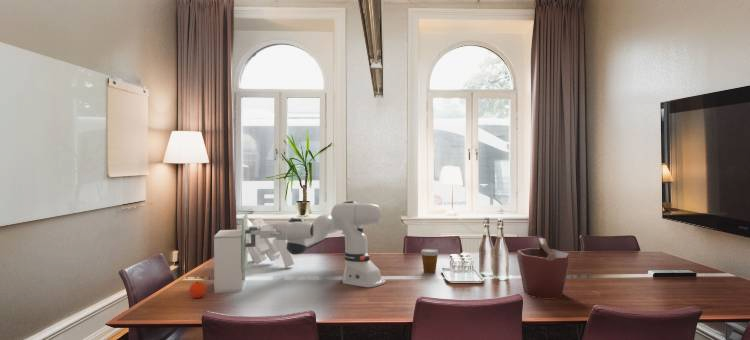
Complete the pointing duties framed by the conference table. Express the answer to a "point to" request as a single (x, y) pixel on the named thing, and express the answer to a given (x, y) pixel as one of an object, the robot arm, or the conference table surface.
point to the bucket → (543, 270)
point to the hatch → (244, 241)
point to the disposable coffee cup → (429, 260)
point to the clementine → (197, 289)
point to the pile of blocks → (267, 246)
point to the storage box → (228, 261)
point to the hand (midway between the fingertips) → (251, 231)
